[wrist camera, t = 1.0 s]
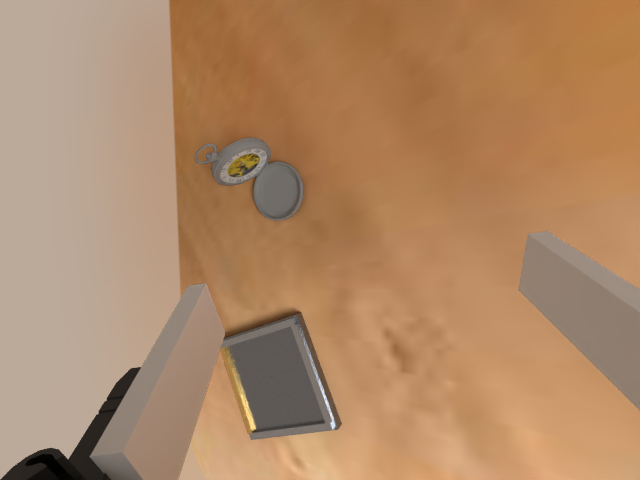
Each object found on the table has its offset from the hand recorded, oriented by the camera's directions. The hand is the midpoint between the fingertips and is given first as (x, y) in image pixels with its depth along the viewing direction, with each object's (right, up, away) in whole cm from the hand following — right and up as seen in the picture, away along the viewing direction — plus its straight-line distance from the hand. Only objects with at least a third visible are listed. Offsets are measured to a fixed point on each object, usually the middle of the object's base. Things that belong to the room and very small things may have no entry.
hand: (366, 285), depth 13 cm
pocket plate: (-7, -15, +25) cm, 30 cm away
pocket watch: (-7, +9, +24) cm, 26 cm away
